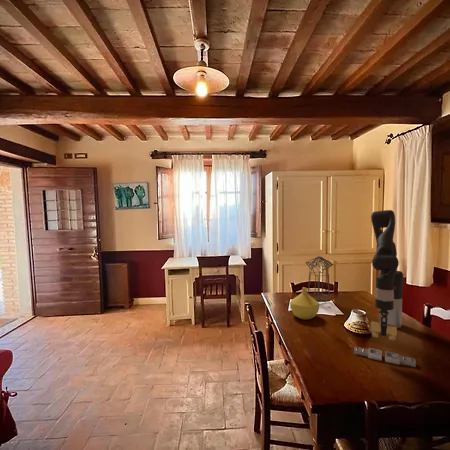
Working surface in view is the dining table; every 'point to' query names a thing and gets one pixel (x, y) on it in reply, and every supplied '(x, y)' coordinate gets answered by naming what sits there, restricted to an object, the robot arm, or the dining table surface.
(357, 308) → the dining table surface
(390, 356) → the chain ends
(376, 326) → the master link
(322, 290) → the geometric lantern
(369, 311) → the dining table surface
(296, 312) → the vase
